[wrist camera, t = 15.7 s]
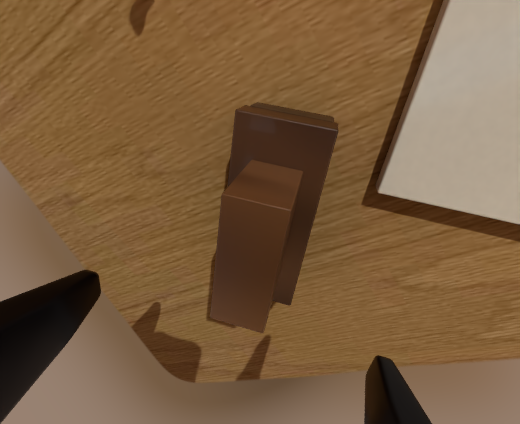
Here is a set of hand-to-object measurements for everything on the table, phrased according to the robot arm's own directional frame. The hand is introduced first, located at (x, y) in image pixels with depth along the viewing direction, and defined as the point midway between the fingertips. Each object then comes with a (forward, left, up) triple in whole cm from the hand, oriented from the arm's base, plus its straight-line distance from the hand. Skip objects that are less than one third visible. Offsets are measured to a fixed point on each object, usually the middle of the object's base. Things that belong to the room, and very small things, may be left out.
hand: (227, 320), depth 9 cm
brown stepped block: (0, 0, -9) cm, 9 cm away
